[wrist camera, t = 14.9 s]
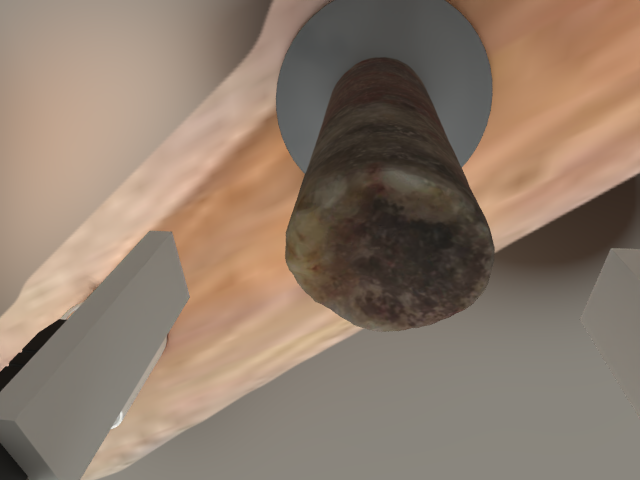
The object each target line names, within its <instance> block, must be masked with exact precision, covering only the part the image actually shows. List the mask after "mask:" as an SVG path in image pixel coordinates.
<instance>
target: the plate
mask: <svg viewBox="0 0 640 480" xmlns="http://www.w3.org/2000/svg"><path fill="white" fill-rule="evenodd" d="M375 57H377V58H381V57H387V58H393V59H397V60H399V61H401V62H403V63H405V64H407V65H408V66H409V67H411V68H412V69H413V70H414V72H415V73H416V74H417V75H418V76H419V78H420V79H421V80H422V82H423V84H424V86H425V88H426V90H427V92H428V94H429V96H430V98H431V101H432V103H433V105H434V107H435V110H436V112H437V115H438V117H439V119H440V122H441V124H442V126H443V128H444V131H445V133H446V135H447V138H448V140H449V142H450V144H451V146H452V148H453V150H454V152H455V155H456V157H457V159H458V161H459V163H460V166H461V168H462V167H463V165H464V164H465V163H466V162H467V161H468V159H469V158H470V157H471V155H472V154H473V152H474V151H475V149H476V147H477V146H478V144H479V142H480V140H481V138H482V136H483V133H484V131H485V128H486V126H487V122H488V118H489V115H490V111H491V103H492V76H491V69H490V64H489V60H488V57H487V54H486V50H485V48H484V46H483V44H482V42H481V40H480V38H479V36H478V34H477V33H476V31H475V30H474V28H473V27H472V25H471V24H470V23H469V22H468V20H467V19H466V18H465V17H464V16H463V15H462V14H461V13H460V12H459V11H458V10H457V9H455V8H454V7H453V6H452V5H450V4H449V3H448V2H446V1H445V0H334V1H332V2H331V3H329V4H328V5H326V6H325V7H323V8H322V9H321V10H320V11H318V12H317V13H316V14H315V15H314V16H313V17H312V18H311V19H310V20H309V21H308V22H307V23H306V24H305V25H304V26H303V27H302V29H301V30H300V31H299V33H298V34H297V36H296V37H295V39H294V40H293V42H292V44H291V46H290V47H289V49H288V51H287V53H286V56H285V58H284V61H283V64H282V66H281V70H280V74H279V78H278V83H277V93H276V111H277V117H278V124H279V128H280V131H281V135H282V138H283V140H284V143H285V145H286V147H287V149H288V151H289V153H290V155H291V156H292V158H293V160H294V161H295V162H296V164H297V165H298V166H299V168H300V169H301V170H302V171H303V172H304V173H306V171H307V168H308V165H309V162H310V159H311V156H312V153H313V150H314V148H315V145H316V141H317V139H318V135H319V132H320V129H321V126H322V123H323V120H324V116H325V113H326V109H327V106H328V103H329V100H330V97H331V94H332V91H333V89H334V87H335V85H336V84H337V82H338V81H339V80H340V78H341V77H342V76H343V75H344V74H345V73H346V72H347V71H348V70H349V69H351V68H352V67H353V66H354V65H356V64H357V63H359V62H361V61H363V60H366V59H369V58H375Z"/></svg>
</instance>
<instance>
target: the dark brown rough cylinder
mask: <svg viewBox="0 0 640 480" xmlns="http://www.w3.org/2000/svg"><path fill="white" fill-rule="evenodd" d="M285 259H286V263H287V265H288V268H289V270H290V271H291V272H292V273H293V275H294V277H295V279H296V281H297V283H298V284H299V285H300V286H301V287H302V289H303V290H304V291H305V292H306V293H307V294H308V295H310V296H311V297H312V298H313V300H314V301H315V302H318V303H320V304H322V305H324V306H326V307H327V308H329V309H331V310H332V311H334V312H335V313H336V314H338V315H339V316H341V317H342V318H344V319H346V320H348V321H350V322H351V323H352V324H353V325H356V326H359V327H362V328H366V329H369V330H373V331H379V332H386V331H401V330H406V329H409V328H419V327H422V326H427V325H431V324H433V323H436V322H438V321H440V320H443V319H446V318H449V317H451V316H452V315H454V314H456V313H458V312H460V311H463V310H465V309H466V308H468V307H469V306H470V305H472V304H473V303H474V302H475V301H476V299H478V297H479V296H480V295H481V294H483V292H484V290H485V288H486V286H487V284H488V281H489V278H490V275H491V271H492V267H493V263H494V244H493V240H492V236H491V232H490V228H489V226H488V223H487V221H486V218H485V216H484V214H483V212H482V210H481V208H480V207H479V205H478V203H477V201H476V199H475V197H474V195H473V193H472V191H471V189H470V187H469V185H468V182H467V179H466V177H465V174H464V172H463V170H462V168H461V166H460V163H459V161H458V159H457V157H456V155H455V152H454V150H453V148H452V146H451V144H450V142H449V140H448V138H447V135H446V133H445V131H444V128H443V126H442V124H441V122H440V119H439V117H438V115H437V112H436V110H435V107H434V105H433V103H432V101H431V98H430V96H429V94H428V92H427V90H426V88H425V86H424V84H423V82H422V80H421V79H420V78H419V76H418V75H417V74H416V73H415V72H414V70H413V69H412V68H411V67H409V66H408V65H407V64H405V63H403V62H401V61H399V60H397V59H393V58H387V57H381V58H377V57H375V58H369V59H366V60H363V61H361V62H359V63H357V64H356V65H354V66H353V67H352V68H351V69H349V70H348V71H347V72H346V73H345V74H344V75H343V76H342V77H341V78H340V80H339V81H338V82H337V84H336V85H335V87H334V89H333V91H332V94H331V97H330V100H329V103H328V106H327V109H326V113H325V116H324V120H323V123H322V126H321V129H320V132H319V135H318V139H317V141H316V145H315V148H314V150H313V153H312V156H311V159H310V162H309V165H308V168H307V171H306V173H305V176H304V179H303V182H302V185H301V188H300V191H299V195H298V198H297V201H296V203H295V207H294V210H293V212H292V215H291V218H290V221H289V225H288V228H287V231H286V252H285Z"/></svg>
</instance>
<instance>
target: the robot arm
mask: <svg viewBox="0 0 640 480" xmlns="http://www.w3.org/2000/svg"><path fill="white" fill-rule="evenodd" d="M189 298H190V296H189V292H188V288H187V285H186V281H185V278H184V274H183V270H182V267H181V263H180V259H179V256H178V252H177V248H176V245H175V241H174V237H173V234H172V232H165V231H149V232H148V233H147V234H146V235H145V236H144V238H143V239H142V240H141V241H140V242H139V243H138V244H137V245H136V246H135V247H134V248H133V249H132V250H131V252H130V253H129V254H128V255H127V256H126V257H125V258H124V259H123V260H122V261H121V262H120V263H119V264H118V266H117V267H116V268H115V269H114V270H113V271H112V272H111V273H110V274H109V275H108V276H107V277H106V279H105V280H104V281H103V282H102V283H101V284H100V285H99V286H98V287H97V288H96V289H95V290H94V291H93V293H92V294H91V295H90V296H89V297H88V298H87V299H86V300H85V301H84V302H83V303H82V304H81V305H80V307H79V308H78V309H77V310H76V311H75V312H74V313H73V314H72V315H71V316H70V317H69V318H68V319H67V320H64V319H59V320H57V321H56V322H54V323H53V324H51V325H50V326H48V327H46V328H45V329H43V330H42V331H40V332H39V333H38V334H37V335H36V336H35V337H34V338H33V339H32V340H31V341H30V342H29V343H28V344H27V345H26V346H25V347H24V348H23V349H22V350H23V351H22V352H21V353H18V354H17V355H16V356H15V357H14V358H13V359H12V360H11V361H10V362H9V366H8V367H7V366H6V367H5V368H4V369H3V370H2V371H1V372H0V480H26V479H27V478H28V479H29V480H80V479H81V477H82V476H83V474H84V472H85V471H86V469H87V467H88V466H89V464H90V462H91V461H92V459H93V457H94V456H95V454H96V452H97V451H98V449H99V447H100V446H101V444H102V442H103V441H104V439H105V437H106V436H107V434H108V432H109V431H110V429H111V427H112V426H113V424H114V422H115V421H116V419H117V417H118V416H119V414H120V412H121V411H122V409H123V407H124V406H125V404H126V402H127V401H128V399H129V397H130V396H131V394H132V392H133V391H134V389H135V387H136V386H137V384H138V382H139V381H140V379H141V377H142V376H143V374H144V372H145V371H146V369H147V367H148V366H149V364H150V362H151V361H152V359H153V357H154V356H155V354H156V352H157V351H158V349H159V348H160V346H161V344H162V343H163V341H164V339H165V338H166V336H167V334H168V333H169V331H170V329H171V328H172V326H173V324H174V323H175V321H176V319H177V318H178V316H179V314H180V313H181V311H182V309H183V308H184V306H185V304H186V303H187V301H188V299H189ZM580 321H581V322H582V324H583V326H584V327H585V329H586V331H587V332H588V334H589V336H590V337H591V339H592V341H593V342H594V344H595V346H596V347H597V349H598V351H599V352H600V354H601V355H602V357H603V359H604V361H605V362H606V364H607V365H608V367H609V369H610V370H611V372H612V374H613V375H614V377H615V379H616V380H617V382H618V384H619V385H620V387H621V388H622V390H623V392H624V394H625V395H626V397H627V398H628V400H629V402H630V403H631V405H632V407H633V408H634V410H635V412H636V413H637V415H638V416H639V418H640V249H618V248H611V250H610V252H609V254H608V256H607V259H606V261H605V263H604V265H603V268H602V270H601V272H600V275H599V277H598V279H597V281H596V284H595V286H594V288H593V291H592V293H591V295H590V297H589V300H588V302H587V304H586V307H585V309H584V311H583V314H582V316H581V318H580Z"/></svg>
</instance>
